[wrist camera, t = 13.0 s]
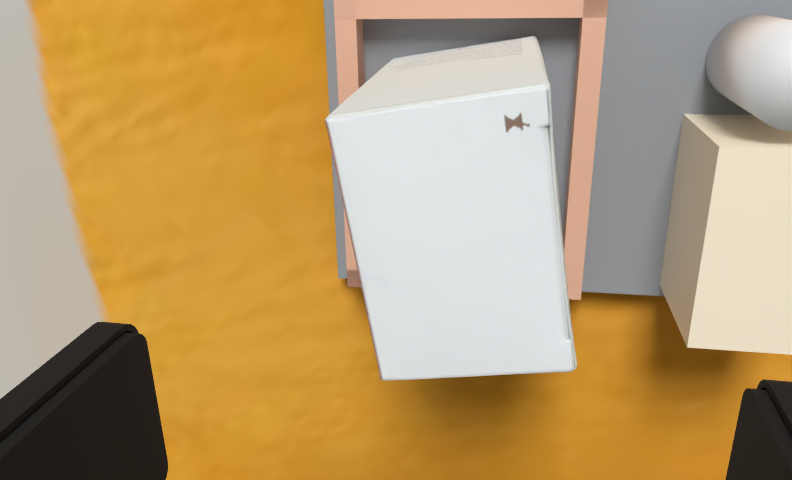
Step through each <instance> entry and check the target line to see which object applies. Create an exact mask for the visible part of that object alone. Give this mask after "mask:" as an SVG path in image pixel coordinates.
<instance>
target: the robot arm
mask: <svg viewBox="0 0 792 480" xmlns="http://www.w3.org/2000/svg"><path fill="white" fill-rule="evenodd" d="M167 472H168V461H167V455H166V449H165V443H164V438H163V432H162V426H161V420H160V415H159V409H158V403H157V397H156V392H155V386H154V380H153V375H152V369H151V363H150V357H149V352H148V346H147V341H146V338H145V337H144V336H143V335H142V334H139V333H138V331H137V329H136V328H135V326H133V325H131V324H120V323H109V322H97V323H95V324H94V325H92V326H91V327H90V328H89V329H87V330H86V331H85V332H83V333H82V334H81V335H80V336H78V337H77V338H76V339H75V340H73V341H72V342H71V343H70V344H69V345H67V346H66V347H65V348H63V349H62V350H61V351H60V352H58V353H57V354H56V355H55V356H53V357H52V358H51V359H50V360H49V361H47V362H46V363H45V364H44V365H42V366H41V367H40V368H39V369H37V370H36V371H35V372H34V373H32V374H31V375H30V376H29V377H27V378H26V379H25V380H24V381H22V382H21V383H20V384H19V385H17V386H16V387H15V388H14V389H13V390H11V391H10V392H9V393H7V394H6V395H5V396H4V397H3V398H1V399H0V480H165V479H166V476H167ZM726 480H792V382H786V381H775V380H762V381H760V383H759V385H758V387H757V389H749V388H747V389H746V390H745V391H744V393H743V397H742V401H741V406H740V411H739V416H738V421H737V426H736V431H735V436H734V441H733V446H732V451H731V456H730V461H729V466H728V471H727V476H726Z"/></svg>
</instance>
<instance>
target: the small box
mask: <svg viewBox="0 0 792 480" xmlns="http://www.w3.org/2000/svg"><path fill="white" fill-rule="evenodd" d="M325 123H326V127H327V131H328V136H329V141H330V145H331V150H332V155H333V160H334V164H335V169H336V173H337V178H338V182H339V187H340V191H341V196H342V201H343V205H344V210H345V214H346V219H347V224H348V229H349V233H350V238H351V242H352V247H353V251H354V256H355V261H356V265H357V270H358V275H359V279H360V284H361V288H362V293H363V298H364V302H365V307H366V311H367V316H368V321H369V326H370V331H371V335H372V340H373V345H374V349H375V354H376V358H377V363H378V368H379V373H380V379H381V380H384V381H388V380H412V379H433V378H450V377H471V376H489V375H509V374H531V373H554V372H571V371H574V370H575V369H576V367H577V360H576V353H575V347H574V339H573V331H572V323H571V314H570V305H569V296H568V287H567V277H566V266H565V256H564V246H563V235H562V225H561V215H560V204H559V194H558V183H557V172H556V161H555V150H554V138H553V122H552V103H551V86H550V83H549V80H548V76H547V73H546V69H545V64H544V60H543V56H542V53H541V50H540V46H539V44H538V41H537V38H536V37H535V36H529V37H524V38H518V39H512V40H506V41H499V42H493V43H486V44H480V45H473V46H467V47H461V48H455V49H449V50H443V51H436V52H430V53H423V54H417V55H411V56H405V57H399V58H394V59H392V60H391V61H390V62H389V63H387V64H386V65H385V66H384V67H383V68H382V69H380V70H379V71H378V72H377V73H376V74H375V75H374V76H372V77H371V78H370V79H369V80H368V81H367V82H366V83H365V84H363V85H362V86H361V87H360V88H359V89H358V90H357V91H355V92H354V93H353V94H352V95H351V96H349V97H348V98H347V99H346V100H345V101H344V102H343V103H342V104H340V105H339V106H338V107H337V108H336V109H335V110H334V111H333V112H331V113H330V114H329V115H328V116H327V118H326V119H325Z"/></svg>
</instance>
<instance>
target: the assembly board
mask: <svg viewBox="0 0 792 480" xmlns="http://www.w3.org/2000/svg"><path fill="white" fill-rule="evenodd" d="M324 16H325V35H326V54H327V72H328V91H329V110H330V113H331V112H333V111H334V110H335V109H336V108H337V107H338V106H339V105H340V104H342V103H343V102H344V101H345V100H346V99H347V98H348V97H349V96H351V95H352V94H353V93H354V92H355V91H357V90H358V89H359V88H360V87H361V86H362V85H363V84H365V83H366V82H367V81H368V80H369V79H370V78H371V77H372V76H374V75H375V74H376V73H377V72H378V71H379V70H380V69H382V68H383V67H384V66H385V65H386V64H387V63H389V62H390V61H391V60H392V59H394V58H399V57H405V56H411V55H417V54H423V53H430V52H436V51H443V50H449V49H455V48H461V47H467V46H473V45H480V44H486V43H493V42H499V41H506V40H512V39H518V38H524V37H529V36H535V37H536V38H537V41H538V44H539V46H540V50H541V53H542V56H543V60H544V64H545V69H546V73H547V76H548V80H549V83H550V86H551V103H552V122H553V138H554V150H555V161H556V172H557V183H558V194H559V204H560V215H561V225H562V235H563V246H564V256H565V266H566V277H567V287H568V296H569V299H572V300H581V292H597V293H615V294H633V295H651V296H665V298H666V300H667V303H668V305H669V307H670V310H671V312H672V314H673V316H674V319H675V321H676V323H677V326H678V328H679V330H680V332H681V335H682V337H683V339H684V342H685V344H686V346H687V348H701V349H716V350H731V351H746V352H761V353H776V354H791V355H792V0H324ZM332 166H333V185H334V204H335V222H336V241H337V260H338V278H346V279H347V287H361V284H360V279H359V275H358V270H357V265H356V261H355V256H354V251H353V247H352V242H351V238H350V233H349V229H348V224H347V219H346V214H345V210H344V205H343V201H342V196H341V191H340V187H339V182H338V178H337V173H336V169H335V164H334V160H333V155H332Z"/></svg>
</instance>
